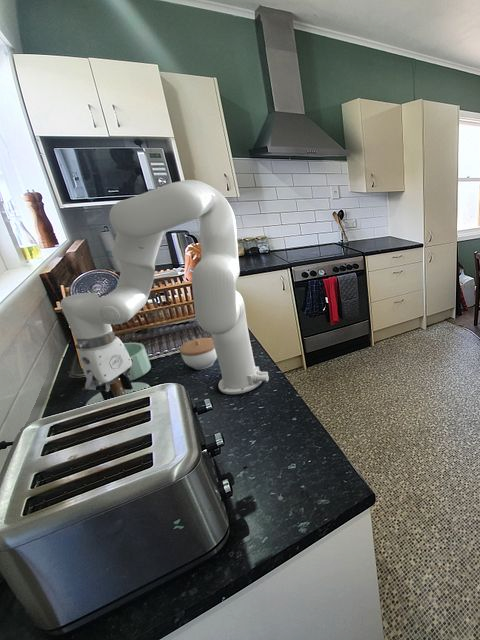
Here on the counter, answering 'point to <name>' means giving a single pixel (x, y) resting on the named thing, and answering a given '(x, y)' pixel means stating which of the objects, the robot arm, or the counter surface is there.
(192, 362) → the trinket box
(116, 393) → the bowl lid
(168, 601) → the counter surface
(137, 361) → the bowl
